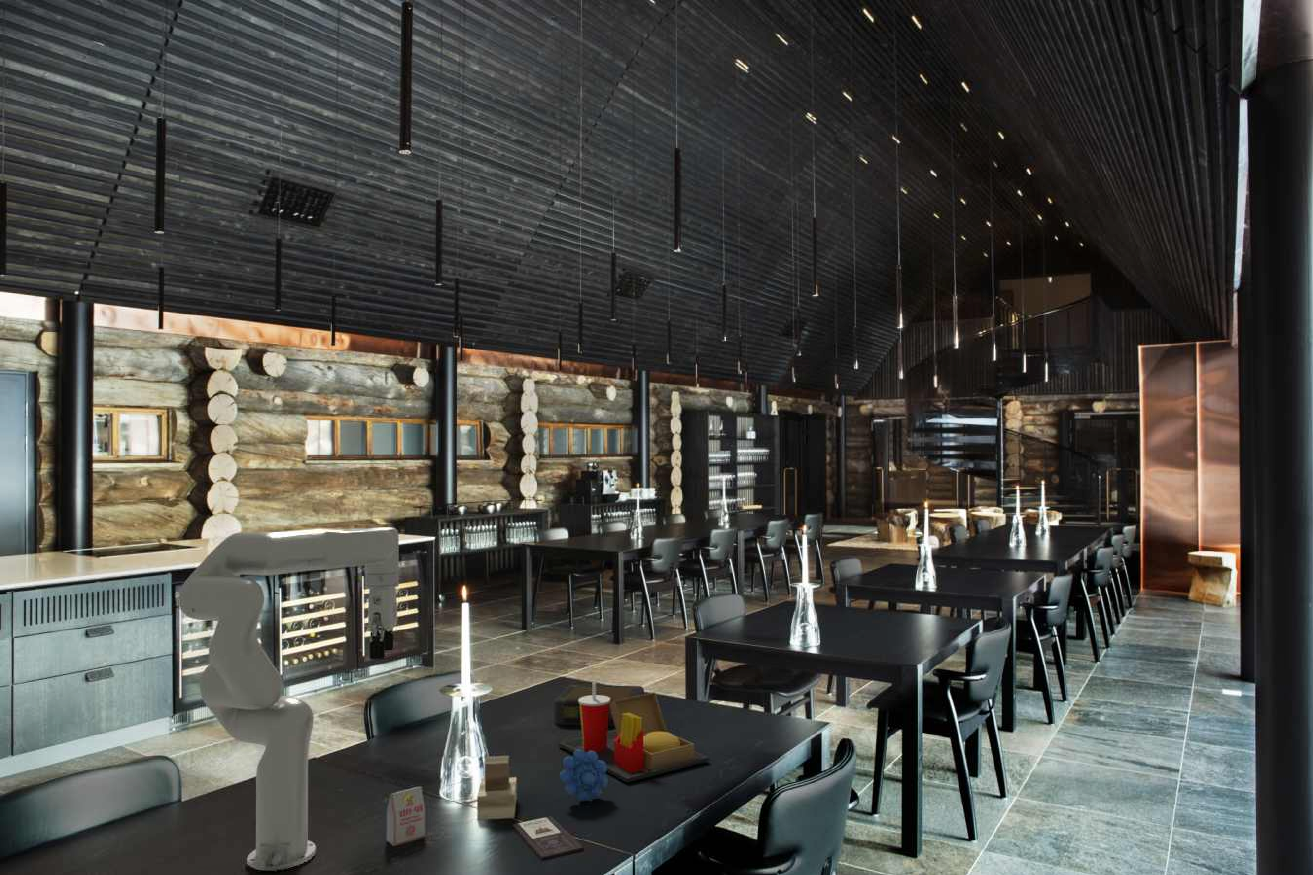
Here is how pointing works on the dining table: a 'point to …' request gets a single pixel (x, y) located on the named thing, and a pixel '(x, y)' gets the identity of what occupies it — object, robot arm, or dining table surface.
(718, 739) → the dining table surface
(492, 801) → the block
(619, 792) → the dining table surface
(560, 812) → the dining table surface
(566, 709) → the cash box
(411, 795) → the white paper bag
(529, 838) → the chocolate bar
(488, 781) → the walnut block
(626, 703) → the fast food meal
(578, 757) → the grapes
